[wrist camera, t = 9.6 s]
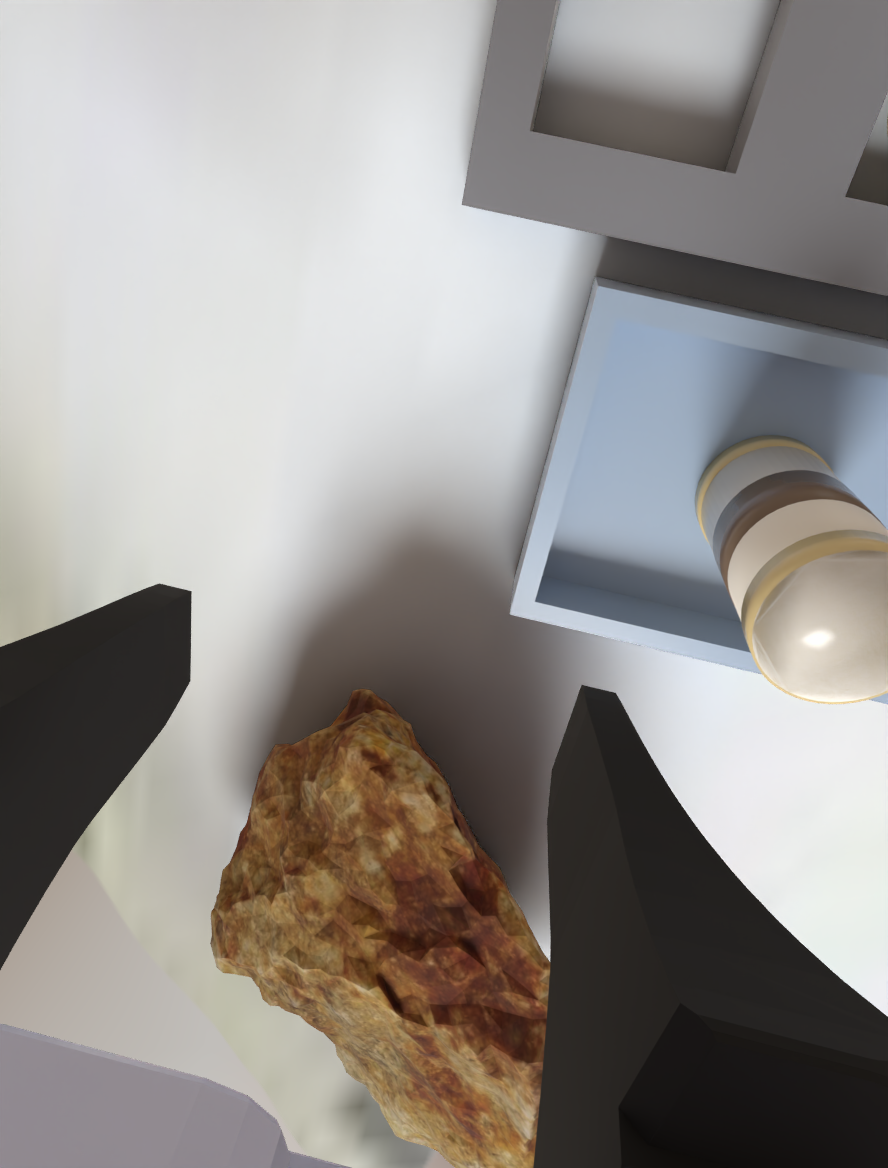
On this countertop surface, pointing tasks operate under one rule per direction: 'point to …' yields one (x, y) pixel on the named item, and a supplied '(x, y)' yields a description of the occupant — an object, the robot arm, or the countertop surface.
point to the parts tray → (683, 459)
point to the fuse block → (697, 194)
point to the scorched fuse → (800, 568)
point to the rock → (391, 936)
